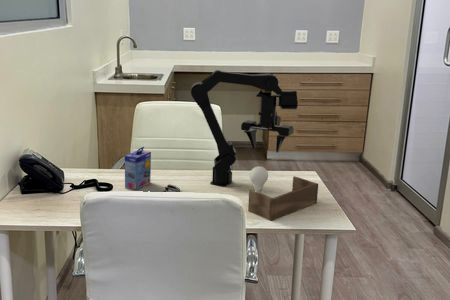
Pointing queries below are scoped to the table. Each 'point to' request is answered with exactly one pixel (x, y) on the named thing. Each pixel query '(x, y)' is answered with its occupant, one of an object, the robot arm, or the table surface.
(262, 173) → the lightbulb
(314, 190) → the open box
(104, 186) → the table surface
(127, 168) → the ink cartridge box
